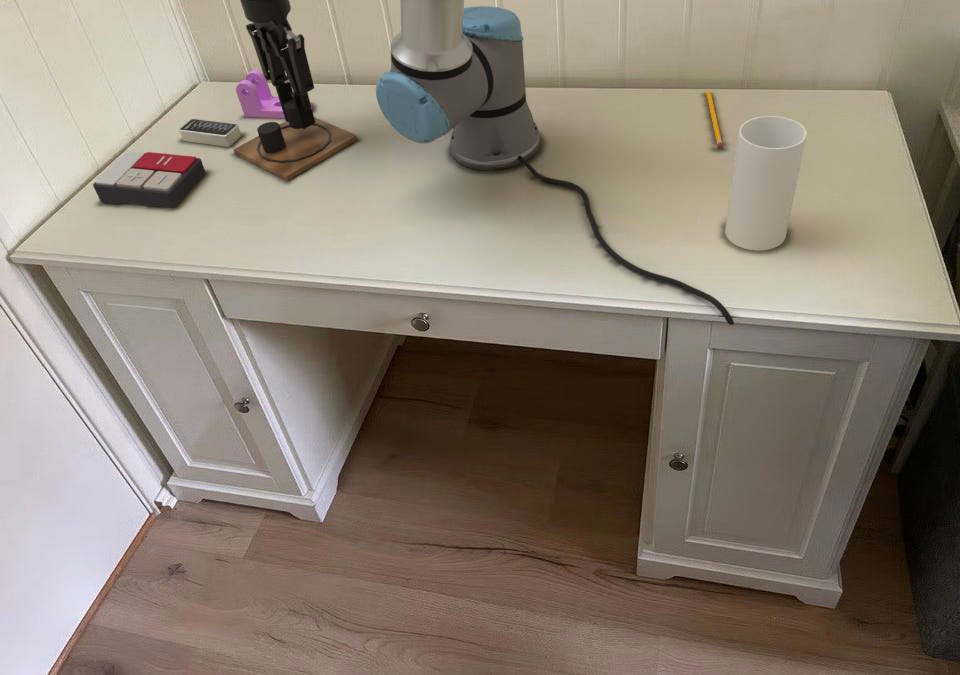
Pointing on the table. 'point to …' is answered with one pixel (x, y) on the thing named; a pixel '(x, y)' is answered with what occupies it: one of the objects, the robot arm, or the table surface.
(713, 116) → the pencil
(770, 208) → the cup
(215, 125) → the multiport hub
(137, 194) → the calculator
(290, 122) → the eye puck
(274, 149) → the eye puck
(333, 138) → the board
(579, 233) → the table surface
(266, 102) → the bracket
